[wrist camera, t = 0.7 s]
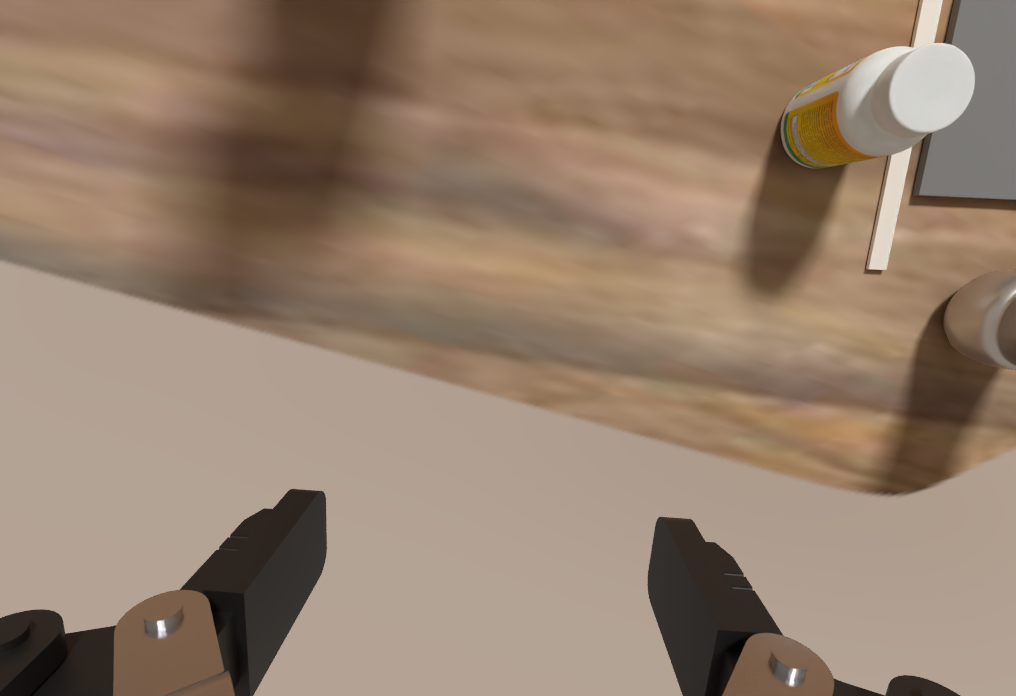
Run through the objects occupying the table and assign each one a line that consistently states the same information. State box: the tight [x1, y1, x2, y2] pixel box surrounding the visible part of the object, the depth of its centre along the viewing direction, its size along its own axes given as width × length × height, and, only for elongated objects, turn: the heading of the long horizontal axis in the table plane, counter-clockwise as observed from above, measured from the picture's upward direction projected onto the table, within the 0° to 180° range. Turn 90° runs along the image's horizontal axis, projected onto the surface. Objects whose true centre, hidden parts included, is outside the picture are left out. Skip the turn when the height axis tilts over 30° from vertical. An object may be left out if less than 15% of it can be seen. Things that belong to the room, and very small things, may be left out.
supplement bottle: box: [781, 43, 975, 168], centre depth 29 cm, size 5×5×10 cm
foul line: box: [866, 0, 943, 270], centre depth 33 cm, size 20×1×1 cm, turn 177°
